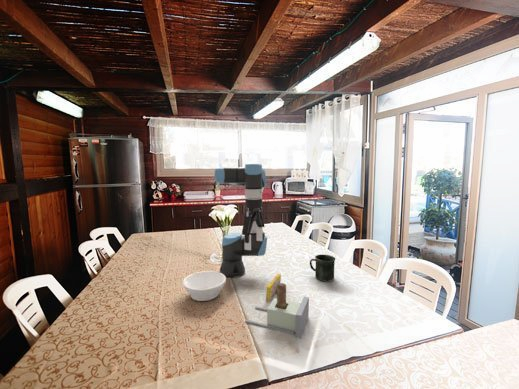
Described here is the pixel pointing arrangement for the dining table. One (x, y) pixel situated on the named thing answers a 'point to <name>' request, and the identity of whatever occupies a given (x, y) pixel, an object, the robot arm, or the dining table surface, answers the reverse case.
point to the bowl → (204, 285)
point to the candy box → (272, 287)
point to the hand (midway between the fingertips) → (254, 245)
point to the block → (283, 315)
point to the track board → (300, 319)
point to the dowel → (281, 295)
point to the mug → (324, 267)
